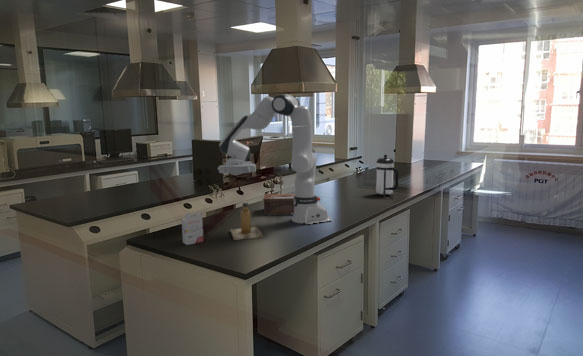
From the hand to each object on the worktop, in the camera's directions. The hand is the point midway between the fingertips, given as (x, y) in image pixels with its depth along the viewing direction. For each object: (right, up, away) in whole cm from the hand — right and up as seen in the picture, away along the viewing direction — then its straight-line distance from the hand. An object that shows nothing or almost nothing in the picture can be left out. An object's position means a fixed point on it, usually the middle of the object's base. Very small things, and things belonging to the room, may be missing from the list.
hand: (239, 170), depth 213 cm
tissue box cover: (+24, -25, +35) cm, 49 cm away
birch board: (+5, -32, -13) cm, 35 cm away
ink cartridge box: (-19, -34, -24) cm, 46 cm away
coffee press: (+98, -17, +83) cm, 129 cm away
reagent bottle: (+5, -31, -13) cm, 34 cm away
